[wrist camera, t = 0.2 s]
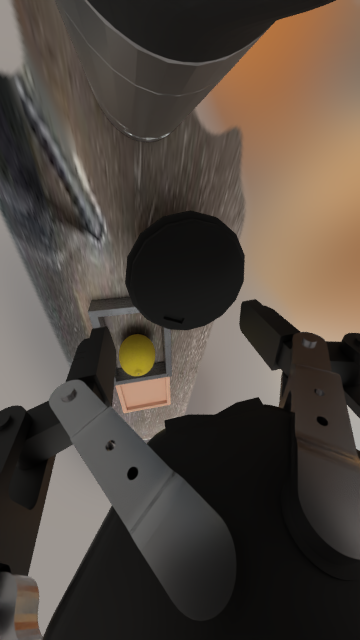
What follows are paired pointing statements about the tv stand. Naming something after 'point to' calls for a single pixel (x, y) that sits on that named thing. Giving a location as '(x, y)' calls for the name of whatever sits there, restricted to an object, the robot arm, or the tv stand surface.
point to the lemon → (137, 355)
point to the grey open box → (126, 307)
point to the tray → (144, 394)
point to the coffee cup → (185, 270)
